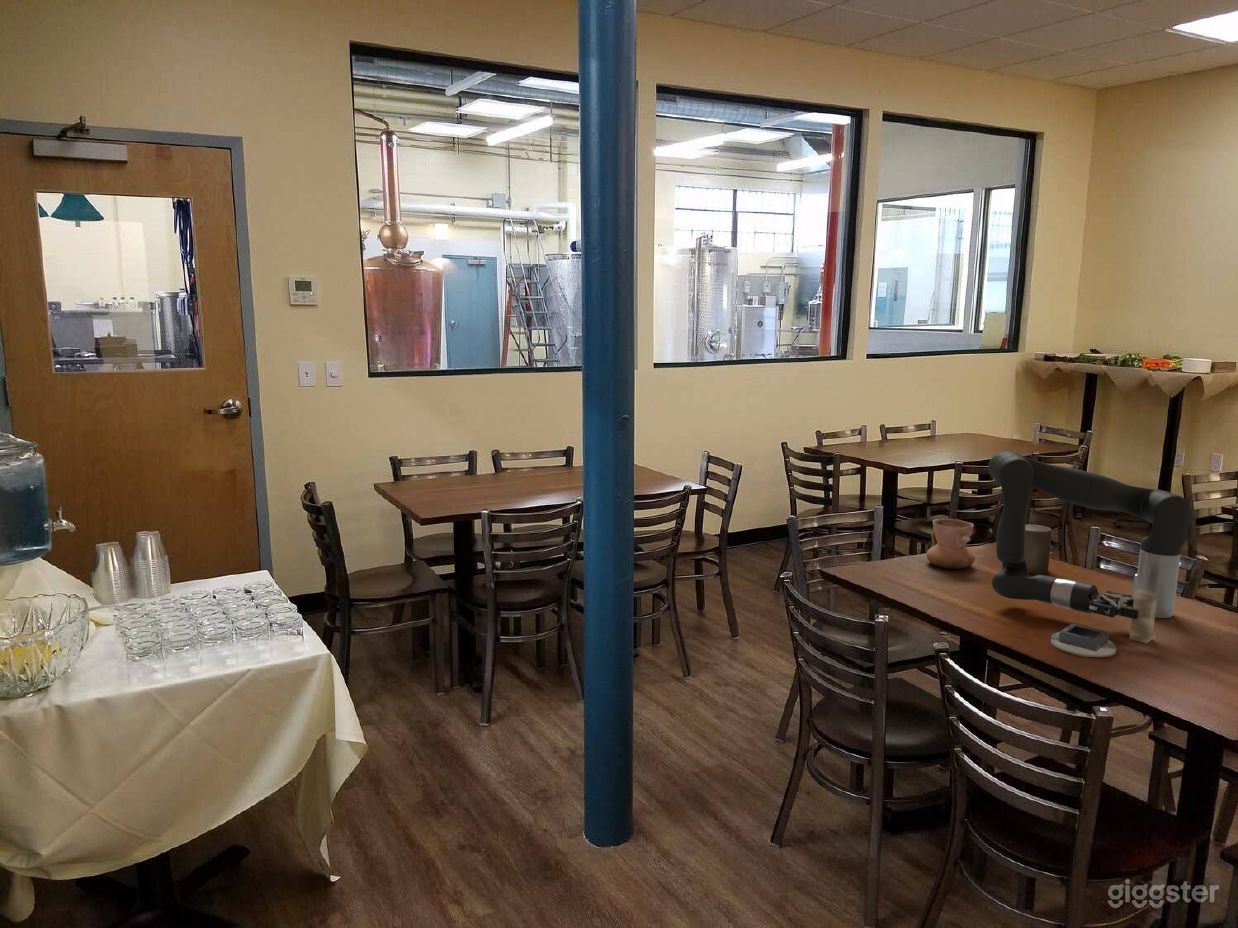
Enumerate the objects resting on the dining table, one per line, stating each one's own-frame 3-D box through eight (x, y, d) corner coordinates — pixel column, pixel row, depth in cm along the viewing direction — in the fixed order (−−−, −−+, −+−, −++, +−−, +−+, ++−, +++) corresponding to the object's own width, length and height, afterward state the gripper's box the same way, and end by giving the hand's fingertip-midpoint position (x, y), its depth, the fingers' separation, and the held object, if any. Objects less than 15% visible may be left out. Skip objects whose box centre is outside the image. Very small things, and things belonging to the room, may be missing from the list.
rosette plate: (1041, 645, 210) (1043, 631, 209) (1062, 631, 219) (1064, 617, 219) (1104, 662, 200) (1106, 647, 199) (1123, 647, 209) (1125, 632, 209)
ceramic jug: (986, 572, 269) (989, 527, 267) (943, 574, 266) (947, 529, 264) (953, 557, 286) (956, 515, 284) (913, 559, 283) (916, 516, 281)
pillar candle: (1055, 573, 268) (1059, 526, 266) (1027, 575, 266) (1032, 527, 264) (1034, 565, 278) (1038, 519, 275) (1007, 566, 275) (1011, 520, 273)
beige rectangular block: (1129, 638, 215) (1134, 592, 213) (1134, 634, 218) (1139, 589, 215) (1147, 643, 212) (1153, 596, 210) (1152, 639, 215) (1157, 592, 213)
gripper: (1065, 587, 220) (1136, 602, 208) (1084, 575, 229) (1154, 590, 218) (1062, 615, 221) (1132, 632, 209) (1082, 602, 231) (1150, 618, 219)
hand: (1143, 610), depth 214 cm, fingers open, 8 cm apart
